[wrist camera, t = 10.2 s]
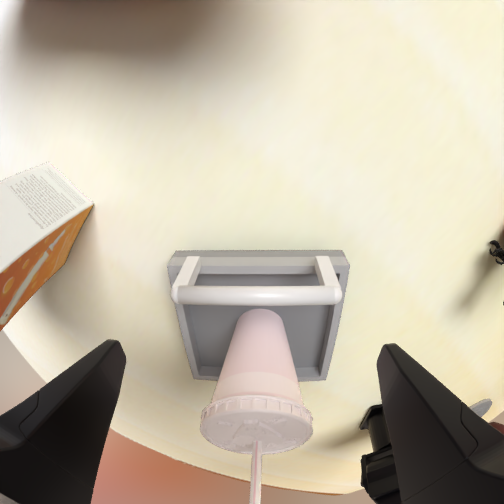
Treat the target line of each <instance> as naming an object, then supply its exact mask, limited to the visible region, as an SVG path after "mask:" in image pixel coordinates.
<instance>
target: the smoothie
mask: <svg viewBox="0 0 504 504" xmlns="http://www.w3.org/2000/svg"><path fill="white" fill-rule="evenodd" d="M201 419H202V421H201V426H200V431H201V433H202V435H203V436H204V437H205V438H206V439H207V440H208V441H209V442H211V443H212V444H214V445H216V446H218V447H220V448H223V449H225V450H228V451H232V452H237V453H243V454H252V466H251V485H250V486H251V487H250V503H249V504H260V502H261V475H262V455H265V454H275V453H281V452H285V451H289V450H292V449H294V448H297V447H299V446H300V445H302V444H304V443H305V442H306V441H307V440H309V438H310V437H311V435H312V432H313V429H312V420H313V418H312V415H311V412H310V411H309V410H308V409H307V408H306V407H305V406H304V403H303V399H302V394H301V391H300V387H299V383H298V379H297V375H296V371H295V367H294V363H293V359H292V355H291V351H290V347H289V344H288V340H287V336H286V332H285V328H284V324H283V321H282V319H281V317H280V316H279V315H278V314H276V313H275V312H273V311H271V310H267V309H252V310H249V311H247V312H245V313H244V314H242V315H241V316H240V317H239V319H238V321H237V324H236V327H235V330H234V334H233V337H232V340H231V343H230V346H229V349H228V352H227V355H226V358H225V361H224V364H223V367H222V370H221V373H220V377H219V380H218V383H217V386H216V388H215V391H214V394H213V398H212V401H211V404H209V405H207V407H206V408H205V409H204V410H203V411H202V415H201Z"/></svg>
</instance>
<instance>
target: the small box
mask: <svg viewBox="0 0 504 504" xmlns="http://www.w3.org/2000/svg"><path fill="white" fill-rule="evenodd" d="M93 205H94V203H93V201H91V200H90V199H89V198H88V197H87V196H86V195H85V194H84V193H82V192H81V191H80V190H79V189H78V188H77V187H76V186H75V185H74V184H73V183H72V182H71V181H70V180H69V179H68V178H67V177H66V176H65V175H63V174H62V173H61V172H60V171H59V170H58V169H57V168H56V167H55V166H54V165H53V164H52V163H51V162H46V163H44V164H41V165H38V166H36V167H33V168H30V169H28V170H25V171H23V172H20V173H18V174H15V175H13V176H10V177H8V178H6V179H4V180H1V181H0V331H1V330H2V329H3V327H4V326H5V325H6V324H7V323H8V322H9V321H10V319H11V318H12V317H13V316H14V315H15V314H16V313H17V312H18V311H19V309H20V308H21V307H22V306H23V305H24V304H25V303H26V302H27V301H28V300H29V299H30V298H31V297H32V296H33V294H34V293H35V292H36V291H37V290H38V289H39V288H40V287H41V286H42V285H43V284H44V283H45V282H46V281H47V280H48V279H50V278H51V277H52V276H53V275H54V274H55V273H56V272H57V271H58V270H59V269H60V268H61V267H62V266H63V265H64V264H65V262H66V259H67V257H68V254H69V252H70V249H71V247H72V245H73V243H74V241H75V239H76V237H77V235H78V233H79V231H80V229H81V227H82V225H83V223H84V221H85V219H86V217H87V216H88V214H89V212H90V210H91V208H92V207H93Z"/></svg>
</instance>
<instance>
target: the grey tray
mask: <svg viewBox="0 0 504 504" xmlns="http://www.w3.org/2000/svg"><path fill="white" fill-rule="evenodd" d="M167 268H168V274H169V279H170V284H171V289H172V290H171V299H172V300H173V301H174V303H175V307H176V312H177V316H178V320H179V325H180V329H181V333H182V337H183V341H184V345H185V349H186V353H187V356H188V360H189V364H190V367H191V371H192V375H193V378H194V379H201V380H216V381H218V380H219V377H220V373H221V370H222V367H223V364H224V361H225V358H226V355H227V352H228V349H229V346H230V343H231V340H232V337H233V334H234V330H235V327H236V324H237V321H238V319H239V317H240V316H241V315H242V314H244V313H245V312H247V311H249V310H252V309H267V310H271V311H273V312H275V313H276V314H278V315H279V316H280V317H281V319H282V321H283V324H284V328H285V332H286V336H287V340H288V344H289V347H290V351H291V355H292V359H293V363H294V367H295V371H296V375H297V379H298V382H299V381H320V380H326V377H327V374H328V370H329V366H330V362H331V358H332V354H333V349H334V345H335V341H336V336H337V332H338V327H339V323H340V318H341V313H342V308H343V303H344V297H345V292H346V286H347V280H348V274H349V268H350V264H349V262H348V260H347V258H346V256H345V255H344V253H343V251H342V250H212V251H175V253H174V255H173V256H172V258H171V260H170V261H169V263H168V265H167Z"/></svg>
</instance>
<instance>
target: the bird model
mask: <svg viewBox="0 0 504 504" xmlns="http://www.w3.org/2000/svg"><path fill="white" fill-rule="evenodd" d="M490 243H491V244H493V245H495V246H496V248H497V249H495V250H494V251H493V253H492V251H491V248H490V253H491V254H492V256H496V257H499V258H500V259H501V260H502V261H503V262H499V261H497V259H496V262H497V263H498V264H501V265H502V264H504V250H503V249H502V248H500V245H499V243H498V242H497V241H495V240H494V241H491V242H490ZM495 252H496V253H497V254H496V255H494V253H495ZM503 305H504V302H503Z"/></svg>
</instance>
